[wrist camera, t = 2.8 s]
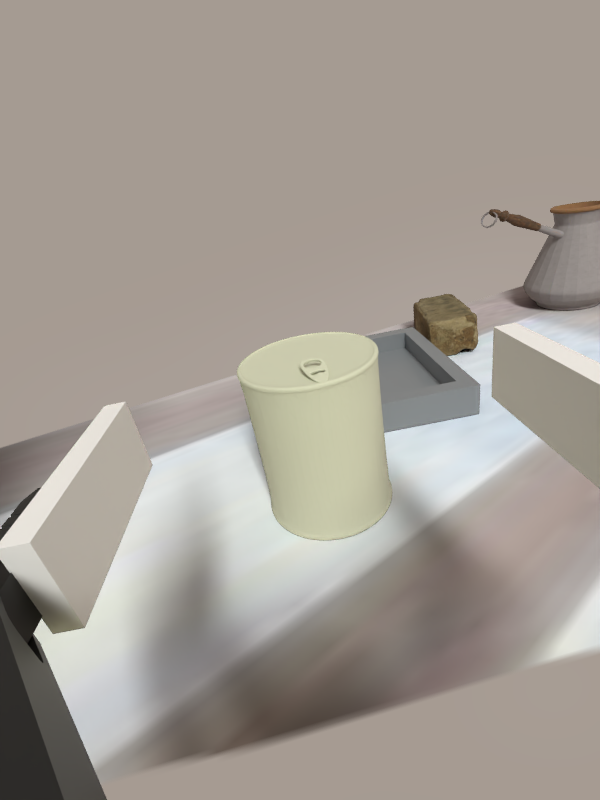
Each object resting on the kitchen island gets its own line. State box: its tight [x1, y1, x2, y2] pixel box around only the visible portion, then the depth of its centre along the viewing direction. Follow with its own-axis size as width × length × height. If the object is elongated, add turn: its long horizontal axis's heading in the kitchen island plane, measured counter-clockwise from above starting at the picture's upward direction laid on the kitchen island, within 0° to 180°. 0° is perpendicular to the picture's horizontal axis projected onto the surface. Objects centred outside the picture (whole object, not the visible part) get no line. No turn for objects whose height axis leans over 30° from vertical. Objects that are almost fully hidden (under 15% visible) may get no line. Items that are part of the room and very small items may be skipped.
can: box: [237, 332, 392, 540], centre depth 29 cm, size 9×9×12 cm
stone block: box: [414, 294, 478, 356], centre depth 54 cm, size 6×12×5 cm, turn 178°
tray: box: [365, 327, 480, 432], centre depth 45 cm, size 20×18×3 cm
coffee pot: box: [481, 201, 600, 310], centre depth 55 cm, size 21×12×15 cm, turn 113°
